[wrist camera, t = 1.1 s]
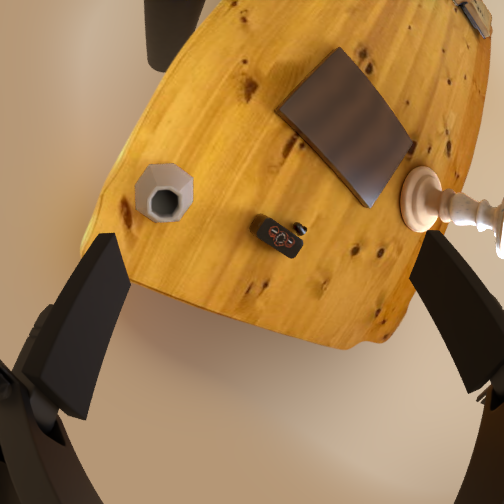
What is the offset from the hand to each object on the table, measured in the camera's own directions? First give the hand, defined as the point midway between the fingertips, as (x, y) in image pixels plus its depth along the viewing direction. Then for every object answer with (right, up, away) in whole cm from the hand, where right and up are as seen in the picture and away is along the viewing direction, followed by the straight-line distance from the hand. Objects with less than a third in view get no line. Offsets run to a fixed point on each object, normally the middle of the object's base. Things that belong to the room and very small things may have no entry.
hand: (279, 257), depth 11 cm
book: (+59, +74, +23) cm, 98 cm away
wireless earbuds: (+2, +3, +27) cm, 27 cm away
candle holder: (+30, +10, +34) cm, 46 cm away
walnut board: (+14, +18, +25) cm, 34 cm away
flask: (-11, +7, +21) cm, 25 cm away
